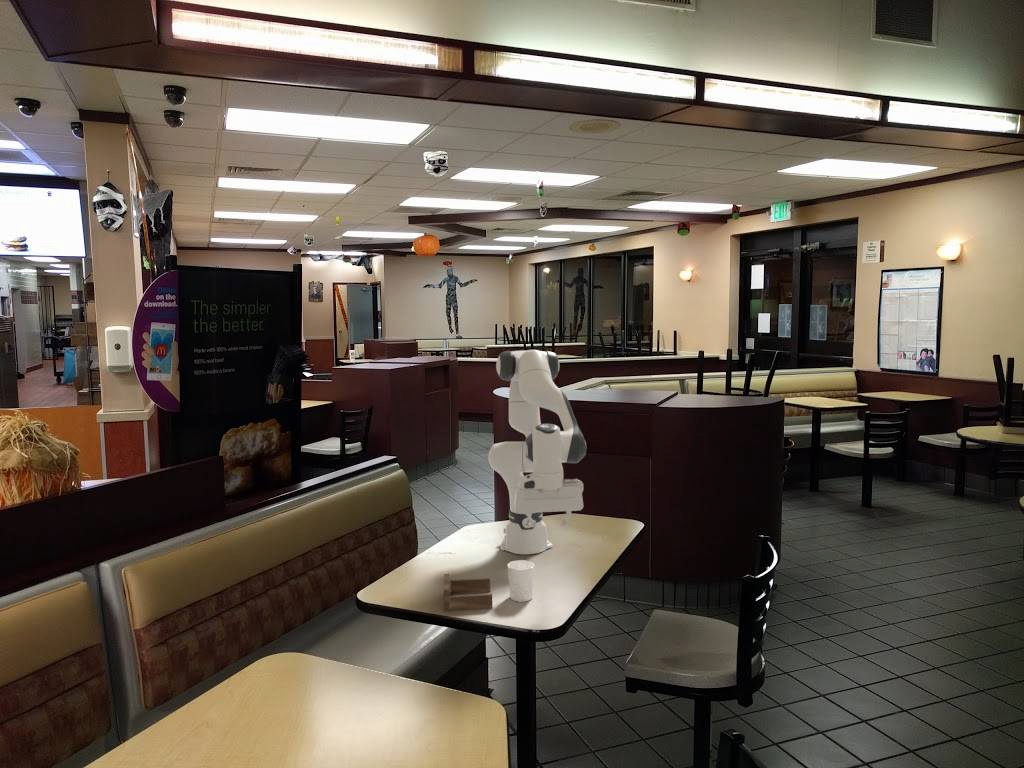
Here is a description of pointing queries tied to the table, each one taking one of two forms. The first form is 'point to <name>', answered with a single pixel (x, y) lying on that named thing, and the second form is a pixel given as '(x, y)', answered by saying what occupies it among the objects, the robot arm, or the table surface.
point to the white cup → (521, 580)
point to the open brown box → (467, 600)
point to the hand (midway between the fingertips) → (549, 526)
